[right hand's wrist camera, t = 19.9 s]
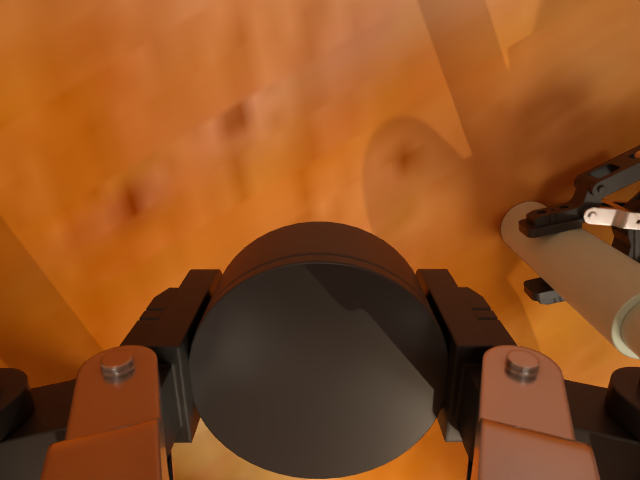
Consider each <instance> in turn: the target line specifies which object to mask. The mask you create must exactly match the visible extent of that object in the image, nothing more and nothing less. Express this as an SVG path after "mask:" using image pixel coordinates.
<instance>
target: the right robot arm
mask: <svg viewBox="0 0 640 480" xmlns="http://www.w3.org/2000/svg"><path fill="white" fill-rule="evenodd" d="M221 277H222V273H221V270H220V269H191V270H190V271H189V273H188V274H187V276H186V277H185V279H184V280H183V282H182V283H181V285H180V287H179V288H168V289H167V290H165V291H164V292H162V293H161V294H159V295H157V296H156V297H154V299H153V300H152V302H151V303H150V304H149V306H148V307H147V308H146V311H144V313H143V314H142V315H141V317H140V320H139V321H137V322H136V324H135V325H134V327H133V328H132V329H131V331H130V332H129V334H128V335H127V336H126V338H125V339H124V340H123V342H122V343H121V345H120V346H119V347H114V348H111V349H108V350H105V351H103V352H100V353H98V354H96V355H94V356H93V357H91V358H90V359H88V360H87V361H86V362H85V363H84V364H83V365H82V366H81V368H80V369H79V371H78V374H77V378H76V379H74V380H71V381H66V382H62V383H57V384H52V385H47V386H42V387H37V388H32V389H30V386H29V382H28V378H27V376H26V374H25V373H24V372H22V371H20V370H18V369H13V368H0V480H175V477H174V466H173V460H172V453H171V449H172V446H173V444H174V443H192V440H193V437H194V434H195V432H196V429H197V426H198V423H199V420H200V415H199V414H198V411H197V409H196V407H195V404H194V400H193V392H192V384H191V376H190V368H189V352H190V347H191V343H192V340H193V337H194V335H195V332H196V330H197V327H198V325H199V323H200V321H201V319H202V317H203V315H204V313H205V310H206V308H207V306H208V304H209V302H210V300H211V298H212V296H213V293H214V291H215V289H216V287H217V285H218V283H219V281H220V279H221ZM416 277H417V279H418V281H419V283H420V285H421V287H422V290H423V292H424V294H425V296H426V298H427V300H428V303H429V305H430V307H431V309H432V311H433V313H434V316H435V318H436V320H437V322H438V324H439V326H440V328H441V331H442V333H443V336H444V339H445V342H446V344H447V348H448V355H449V358H448V368H447V376H446V385H445V393H444V401H443V406H442V408H441V410H440V412H439V414H438V416H437V419H438V422H439V425H440V428H441V431H442V434H443V437H444V440H445V442H463V444H464V447H465V449H466V452H467V455H468V460H467V466H466V477H465V480H640V367H624V368H620V369H617V370H615V371H614V372H613V373H612V375H611V378H610V382H609V385H608V388H603V387H598V386H593V385H588V384H583V383H578V382H573V381H569V380H565V379H564V378H563V374H562V371H561V369H560V368H559V366H558V365H557V364H556V363H555V362H554V361H553V360H552V359H550V358H549V357H547V356H546V355H544V354H542V353H540V352H537V351H535V350H532V349H529V348H526V347H521V346H517V344H516V343H515V342H514V340H513V339H512V337H511V336H510V335H509V333H508V332H507V330H506V329H505V328H504V326H503V325H502V323H501V322H500V321H499V320H497V316H496V315H495V313H494V312H493V311H491V308H490V306H489V305H488V304H487V302H486V301H485V299H484V298H483V297H482V296H480V295H479V294H477V293H476V292H474V291H473V290H471V289H470V288H468V287H458V286H457V284H456V283H455V281H454V279H453V278H452V276H451V275H450V273H449V272H448V270H447V269H418V270H417V271H416Z"/></svg>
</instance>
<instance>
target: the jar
mask: <svg viewBox="0 0 640 480" xmlns="http://www.w3.org/2000/svg"><path fill="white" fill-rule="evenodd" d="M541 208H547V206H545V205H543V204H541V203H539V202H533V201H529V202H524V203H520V204H518V205H516V206H515V207H513V208H512V209H511V210H509V211H508V213H507V214H506V215H505V217H504V218H503V221H502V224H501V236H502V239H503V241H504V242H505V243H506V244H507V245H508V246H509V247H510V248H511V249H512V250H513V251H514V252H515V253H516V254H517V255H518V256H519V257H520V258H521V259H522V260H523V261H524V262H526V263H527V264H528V265H529V266H530V267H531V268H532V269H533V270H534V271H535V272H536V273H537V274H538V275H539V276H540V277H541V278H542V279H543V280H545V281H546V282H547V283H548V284H549V285H550V286H551V287H552V288H553V289H554V290H555V291H556V292H557V293H558V294H559V295H560V296H561V297H562V298H563V299H565V300H566V301H567V302H568V303H569V304H570V305H571V306H572V307H573V308H574V309H575V310H576V311H577V312H578V313H579V314H580V315H581V316H582V317H584V318H585V319H586V320H587V321H588V322H589V323H590V324H591V325H592V326H593V327H594V328H595V329H596V330H597V331H598V332H599V333H600V334H601V335H603V336H604V337H605V338H606V339H607V340H608V341H609V342H610V343H611V344H612V345H613V346H614V347H615V348H616V349H617V350H618V351H620V352H621V353H622V354H624V355H626V356H628V357H631V358H635V359H640V263H638V262H636V261H635V260H633V259H632V258H630V257H628V256H627V255H625V254H623V253H622V252H620V251H619V250H617V249H615V248H614V247H612V246H610V245H609V244H607V243H605V242H604V241H602V240H601V239H599V238H597V237H596V236H594V235H592V234H591V233H589V232H587V231H586V230H584V229H583V228H578V229H574V230H568V231H565V232H560V233H555V234H551V235H546V236H541V237H537V238H528V237H526V236H525V235H524V234H522V233H521V232H520V231H519V224H518V221H519V220H522V219H526V214H527V213H529V212H531V211H532V210H537V209H541Z"/></svg>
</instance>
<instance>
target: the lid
mask: <svg viewBox="0 0 640 480" xmlns="http://www.w3.org/2000/svg"><path fill="white" fill-rule="evenodd" d="M448 358H449V355H448V348H447V344H446V342H445V339H444V336H443V333H442V331H441V328H440V326H439V324H438V322H437V320H436V318H435V316H434V313H433V311H432V309H431V307H430V305H429V303H428V300H427V298H426V296H425V294H424V292H423V290H422V287H421V285H420V283H419V281H418V279H417V277H416V275H415V274H414V272H413V270H412V268H411V267H410V266H409V264H408V263H407V262H406V260H405V259H404V258H403V257H402V256H401V255H400V254H399V253H398V252H397V251H396V250H395V249H394V248H393V247H391V246H390V245H389V244H387V243H386V242H385V241H383V240H382V239H380V238H378V237H377V236H375V235H373V234H371V233H369V232H366V231H364V230H362V229H359V228H356V227H353V226H349V225H345V224H340V223H333V222H305V223H297V224H293V225H289V226H285V227H282V228H279V229H276V230H274V231H271V232H269V233H267V234H265V235H263V236H261V237H259V238H258V239H256V240H255V241H253V242H252V243H250V244H249V245H248V246H246V247H245V248H244V249H243V250H242V251H241V252H240V253H239V254H238V255H237V256H236V257H235V258H234V259H233V260H232V262H231V263H230V264H229V265H228V267H227V268H226V270H225V272H224V273H223V275H222V277H221V279H220V281H219V283H218V285H217V287H216V289H215V291H214V293H213V296H212V298H211V300H210V302H209V304H208V306H207V308H206V310H205V313H204V315H203V317H202V319H201V321H200V323H199V325H198V327H197V330H196V332H195V335H194V337H193V340H192V343H191V347H190V352H189V368H190V376H191V384H192V392H193V400H194V404H195V407H196V409H197V411H198V414H199V415H200V417H201V418H202V420H203V422H204V423H205V425H206V426H207V428H208V429H209V430H210V431H211V432H212V434H213V435H214V436H215V437H216V438H217V439H218V440H219V441H220V442H221V443H222V444H223V445H224V446H225V447H227V448H228V449H229V450H231V451H232V452H233V453H235V454H236V455H237V456H239V457H241V458H243V459H244V460H246V461H248V462H250V463H251V464H254V465H256V466H258V467H261V468H263V469H265V470H269V471H272V472H275V473H278V474H282V475H287V476H292V477H298V478H308V479H329V478H340V477H346V476H351V475H356V474H359V473H363V472H366V471H369V470H372V469H375V468H377V467H379V466H382V465H384V464H386V463H388V462H390V461H392V460H393V459H395V458H397V457H399V456H400V455H401V454H403V453H404V452H406V451H407V450H409V449H410V448H411V447H412V446H413V445H414V444H415V443H417V442H418V441H419V440H420V439H421V438H422V437H423V435H424V434H425V433H426V432H427V431H428V430H429V429H430V427H431V426H432V424H433V423H434V421H435V419H436V418H437V416H438V414H439V412H440V410H441V408H442V406H443V401H444V393H445V385H446V376H447V368H448Z"/></svg>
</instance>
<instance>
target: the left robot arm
mask: <svg viewBox="0 0 640 480" xmlns="http://www.w3.org/2000/svg"><path fill="white" fill-rule="evenodd" d="M639 180H640V145H639V146H637V147H635V148H633V149H631V150H629V151H627V152H625V153H623V154H621V155H619V156H617V157H615V158H613V159H611V160H608V161H606V162H604V163H602V164H600V165H598V166H596V167H594V168H592V169H590V170H588V171H586V172H584V173H582V174H580V175H578V176H577V177H576V179H575V181H574V185H575V187H576V191H575V194H574V196H573V198H572V199H571V200H570V201H569V202H567V203H564V204H559V205H555V206H550V207H547V208H541V209H537V210H532V211H531V212H529V213H527V214H526V219H522V220H519V221H518V224H519V231H520V232H521V233H522V234H524V235H525V236H526V237H528V238H537V237H541V236H546V235H551V234H555V233H560V232H565V231H568V230H574V229H578V228H582V223H584V222H586V223H588V224H597V225H609V226H611V228H612V231H613V234H614V240H613V243H612V247H614V248H615V249H617V250H619V251H620V252H622V253H623V254H625V255H627V256H628V257H630V258H632V259H633V260H635V261H636V262H638V263H640V192H638V193H637V194H636V195H635V196H634V197H633V198H632V199H630V200H629V201H619V200H607V199H602V198H603V197H605V196H607V195H609V194H611V193H613V192H616V191H618V190H620V189H622V188H624V187H626V186H628V185H630V184H632V183H634V182H637V181H639ZM524 291H525V293H526V294H527V295H528V296H529V297H530V298H531V299H532V300H534V301H538V302H539V303H540V304H552V303H557V302H562V301H566V300H565V299H563V298H562V297H561V296H560V295H559V294H558V293H557V292H556V291H555V290H554V289H553V288H552V287H551V286H550V285H549V284H548V283H547V282H546V281H545V280H543V279H542V278H536V279H531V280H527V281H525V282H524Z"/></svg>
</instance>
